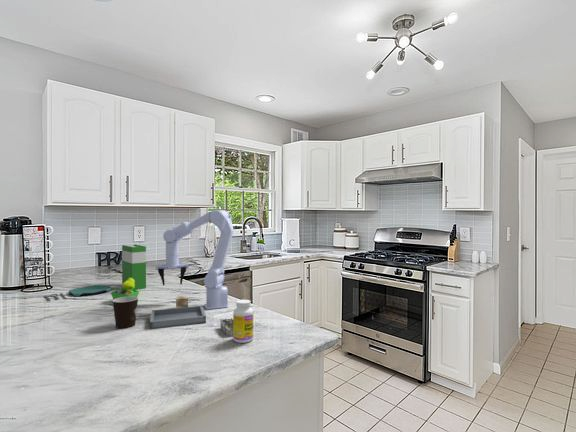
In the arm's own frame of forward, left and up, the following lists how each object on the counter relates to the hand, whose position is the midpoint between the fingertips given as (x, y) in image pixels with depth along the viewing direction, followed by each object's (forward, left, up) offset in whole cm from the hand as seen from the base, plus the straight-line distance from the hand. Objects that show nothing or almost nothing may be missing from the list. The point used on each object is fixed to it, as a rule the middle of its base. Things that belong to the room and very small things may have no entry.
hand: (172, 284), depth 153 cm
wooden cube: (-4, +8, -10) cm, 13 cm away
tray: (-2, +24, -9) cm, 26 cm away
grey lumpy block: (-20, +44, -10) cm, 50 cm away
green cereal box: (+21, -48, -10) cm, 53 cm away
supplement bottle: (-22, +54, -10) cm, 59 cm away
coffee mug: (+16, +24, -10) cm, 31 cm away
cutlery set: (+47, -40, -10) cm, 62 cm away
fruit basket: (+21, -13, -10) cm, 26 cm away
